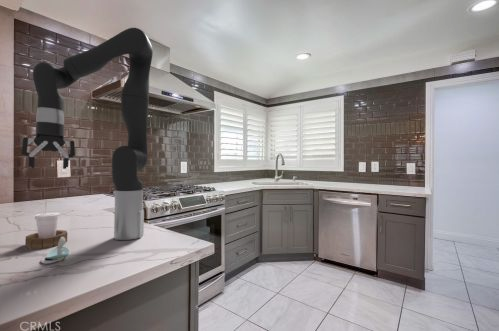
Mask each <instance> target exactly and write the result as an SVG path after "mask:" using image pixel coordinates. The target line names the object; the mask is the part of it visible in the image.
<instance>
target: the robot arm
mask: <svg viewBox="0 0 499 331" xmlns="http://www.w3.org/2000/svg"><path fill="white" fill-rule="evenodd" d="M153 51H154V49H153V45H152V43H151V41H150V39H149V38H148V36H147V34H146V33H145V32H144V31H143V30H142V29H140V28H138V27H129V28H127V29H124V30H122V31H121V32H119V33H117V34H116V35H114V36H113V37H111V38H109V39H107V40H105V41H103V42H101V43H100V44H99V45H96V46H94V47H93V48H90V49H88V50H85V51H83V52H80V53H77V54H74V55H72V56H68V57H66V58H65V59H64V60H63V66H62V67H59V68H58V66H57V67H56V66H55V65H53V64H52V63H49V62H48V61H47V62H46V61H41V62H38V63H36V64H35V66H34V67H33V70H32V78H33V84H34V87H35V91H36V94H37V111H36V116H35V117H36V118H35V137H34V138H33V137H27V136H23V138H22V144H21V145H22V146H21V152H20V153H21V155H22V156H25V157H28V167H29V168H31V169H33V170H34V169H35V158H36V157H35V156H36V155H37V154H38V153H39V152H40V151H43V152H55V153H56V152H58V153H59V154H61V156H62V169H64V170H65V169H67V168H68V167H69V163H70V162H69V161H70V158H73V157H75V156H76V149H75V148H76V147H75V146H76V145H75V141H74V140H65V139H64V136H65V133H64V132H65V114H64V104H65V102H64V97H63V95H62V94H60V92H59V91H58V90H60V89H65V88H68V87H70V86H71V85H72V84H74V83H75V82H77V81H78V80H80V79H81V78H84V77H87V76H89V75H92V74H94V73H97V72H99V71H100V70H102V69H103V68H104V67H105V66H106V65H107V64H108V63H110V62H111V61H112V60H114V59H116V58H118V57H121V56H125V55H128V59H129V69H128V76H127V78H126V80H125V82H124V84H123V86H122V90H121V97H120V112H121V117H122V118H123V121H124V122H123V123H124V125H125V127H126V131H127V145H121V146H118V147H116V149H114V152H113V153H112V157H111V175H112V176H111V178H112V183H113V185H114V218H113V219H114V222H113V224H114V227H113V228H114V229H113V239H114V240H115V241H116V240H117V241H131V240H136V239H141V238H142V236H143V235H144V234H145V233H144V232H145V231H144V228H145V227H144V225H145V219H144V218H145V217H144V216H145V209H144V201H143V200H144V199H143V198H144V183H143V181H141V180H140V179H139V177H138V172H140V171H142V170H144V168H145V167H146V166H147V164H148V159H149V158H148V156H149V155H148V138H147V137H148V135H147V132H148V113H149V102H150V97H149V96H150V74H151V73H150V71H151V65H152V60H153V55H154V54H153V53H154V52H153ZM32 142H33V143H34V144H35V145H36V148H34V149H33V150H32V151H31V152H28V151H27V150H28V145H31V143H32ZM65 145H66V146H67V147H69V154H68V153H67V152H66V151H65V150H64V149H63V147H64V146H65Z"/></svg>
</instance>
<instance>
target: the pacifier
mask: <svg viewBox="0 0 499 331" xmlns="http://www.w3.org/2000/svg"><path fill="white" fill-rule="evenodd" d="M65 244H66V242H65V238H64V237H61V238H60V240H59V243H58V246H56V247H57V248H54V249H52V250H51V251H49V252H48V253H47V255H45V256H44V257H43V258H41V259H40V263H42V264H44V265H45V264H54V263H56V262H60V261H63V260H64V259H65V257H69V253H70V250H69V248H68V247H66V246H65ZM47 259H49V260H47ZM50 259H51V260H50Z"/></svg>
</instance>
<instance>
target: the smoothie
mask: <svg viewBox="0 0 499 331" xmlns="http://www.w3.org/2000/svg"><path fill="white" fill-rule="evenodd" d="M59 217H61V214H60V212H48V200H45V201H44V213H39V214H38V213H37V214H35V215H34V220H36V221H35V222H36V229H37V233H38V236H39V238H46V237H53V236H56V230H58V223H59Z"/></svg>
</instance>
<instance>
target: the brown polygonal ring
mask: <svg viewBox="0 0 499 331" xmlns="http://www.w3.org/2000/svg"><path fill="white" fill-rule="evenodd" d="M61 237H64V238H65V243H67V242H68V231H67V230H64V229H62V230H61V229H57V230H56V236H53V237H46V238H39V236H38V232H35V233H31V234H28V235H26V236H25V239H24V240H25V241H24V243H25V246H24V247H25V249H29V250H42V249H47V248H54V247H57V246H58V243H59V240H60V238H61Z"/></svg>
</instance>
